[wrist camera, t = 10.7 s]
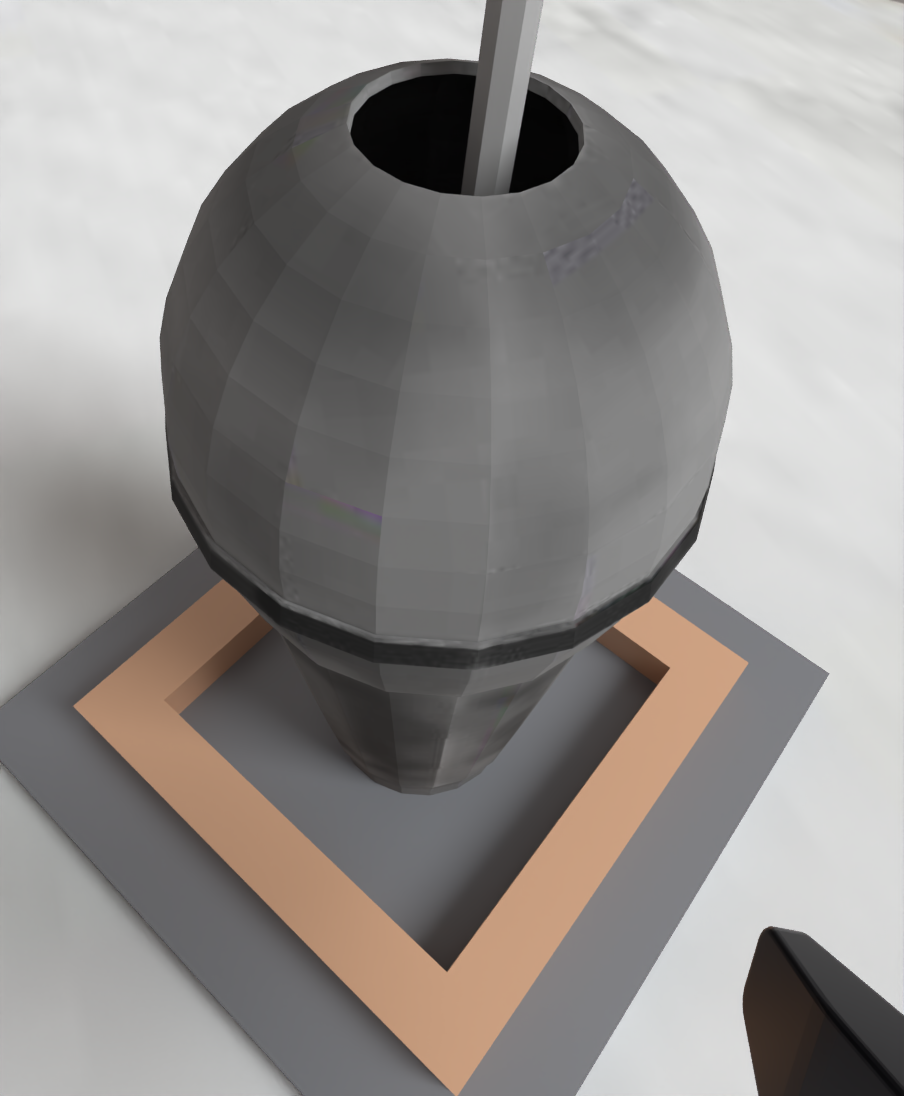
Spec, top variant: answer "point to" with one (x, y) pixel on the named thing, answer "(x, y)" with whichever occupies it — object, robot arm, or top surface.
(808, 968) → the robot arm
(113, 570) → the top surface
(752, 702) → the cup dock
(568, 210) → the beverage cup
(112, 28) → the top surface
